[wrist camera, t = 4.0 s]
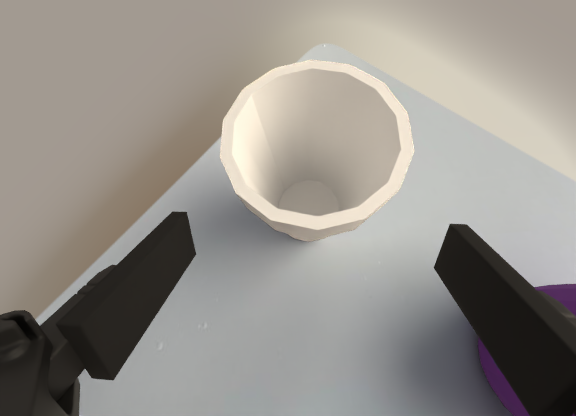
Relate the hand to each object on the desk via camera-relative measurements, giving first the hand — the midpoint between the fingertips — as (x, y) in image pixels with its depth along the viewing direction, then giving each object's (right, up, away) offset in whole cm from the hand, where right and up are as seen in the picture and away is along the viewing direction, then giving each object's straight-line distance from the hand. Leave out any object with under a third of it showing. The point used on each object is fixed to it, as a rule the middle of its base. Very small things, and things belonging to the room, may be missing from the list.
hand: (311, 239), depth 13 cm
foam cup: (+1, +1, +12) cm, 12 cm away
